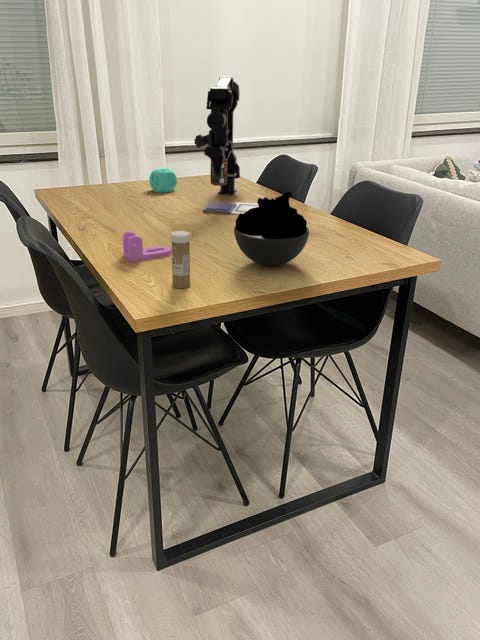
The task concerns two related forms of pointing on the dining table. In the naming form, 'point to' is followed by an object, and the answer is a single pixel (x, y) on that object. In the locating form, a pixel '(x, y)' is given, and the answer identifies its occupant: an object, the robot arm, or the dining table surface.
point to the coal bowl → (271, 231)
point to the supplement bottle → (222, 177)
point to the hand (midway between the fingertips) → (219, 172)
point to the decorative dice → (163, 180)
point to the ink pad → (219, 208)
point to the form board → (243, 207)
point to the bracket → (141, 248)
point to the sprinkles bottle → (180, 259)
